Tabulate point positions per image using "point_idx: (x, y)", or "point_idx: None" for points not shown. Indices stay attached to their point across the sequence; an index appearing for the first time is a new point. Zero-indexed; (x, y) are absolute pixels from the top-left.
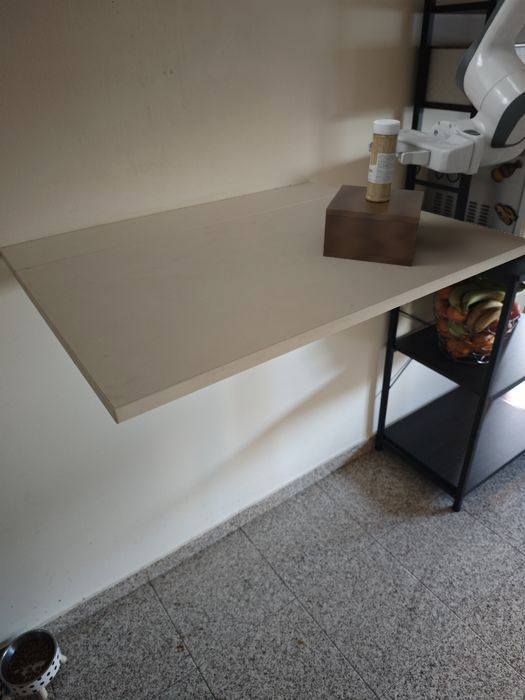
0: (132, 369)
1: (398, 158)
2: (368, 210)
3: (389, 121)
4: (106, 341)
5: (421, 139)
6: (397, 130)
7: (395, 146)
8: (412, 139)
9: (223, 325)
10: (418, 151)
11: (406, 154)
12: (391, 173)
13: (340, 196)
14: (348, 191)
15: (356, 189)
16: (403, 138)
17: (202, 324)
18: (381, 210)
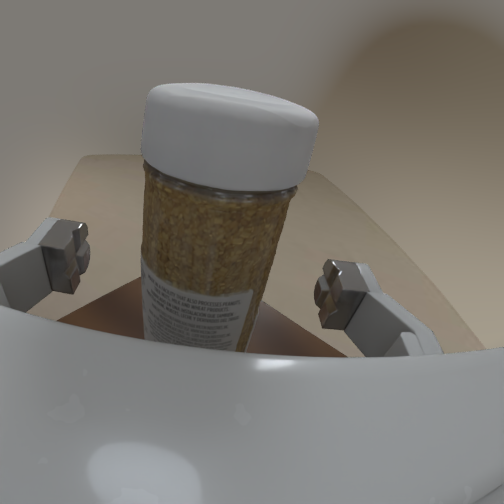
0: (104, 161)
1: (84, 243)
2: (120, 299)
3: (211, 89)
4: (142, 161)
5: (124, 449)
6: (142, 134)
7: (146, 231)
8: (176, 368)
9: (106, 192)
10: (3, 264)
11: (42, 225)
12: (145, 328)
13: (262, 314)
14: (302, 354)
15: None
16: (289, 357)
17: (118, 186)
18: (99, 321)
